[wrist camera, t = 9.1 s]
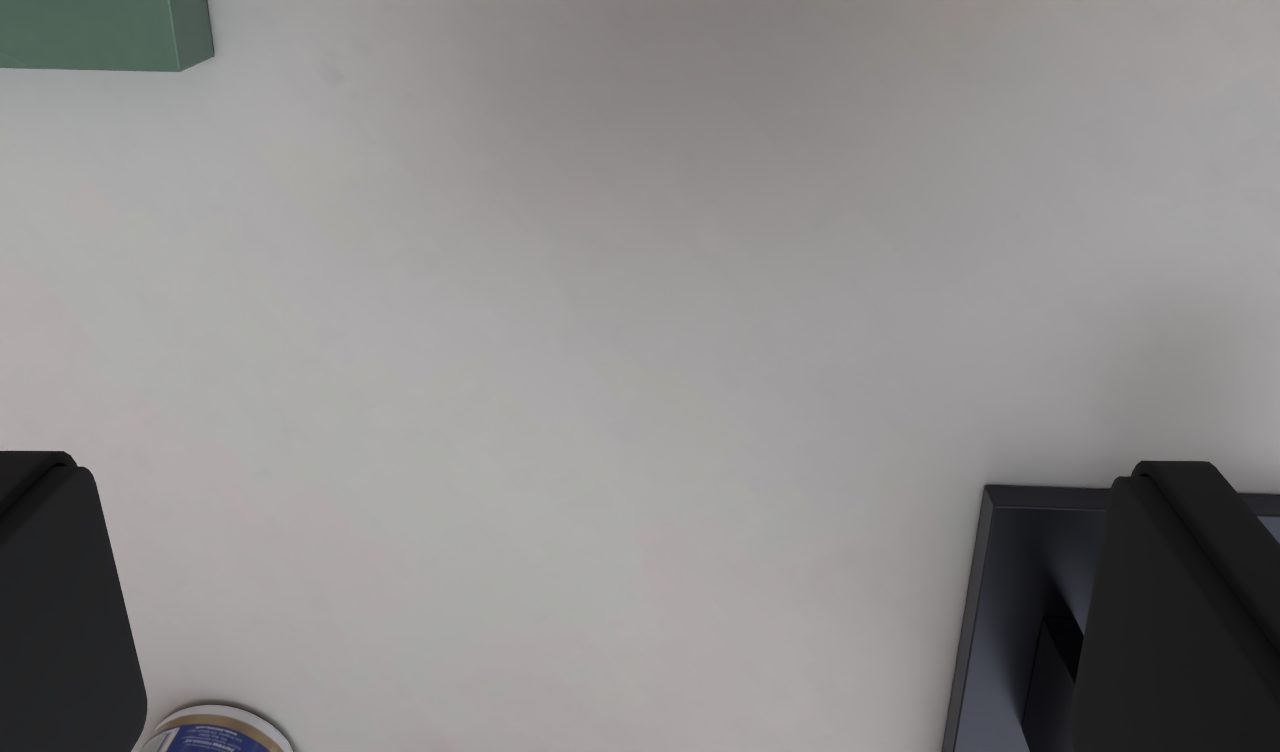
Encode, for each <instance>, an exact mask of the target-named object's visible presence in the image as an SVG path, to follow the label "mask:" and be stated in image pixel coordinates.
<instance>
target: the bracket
mask: <svg viewBox="0 0 1280 752" xmlns="http://www.w3.org/2000/svg"><path fill="white" fill-rule="evenodd" d="M1109 494H1110V490H1102V489H1072V488H1043V487H1013V486H985V489H984V496H983V502H982V508H981V514H980V520H979V527H978V533H977V539H976V545H975V551H974V558H973V564H972V570H971V576H970V582H969V589H968V595H967V601H966V607H965V613H964V620H963V626H962V632H961V638H960V644H959V651H958V657H957V663H956V669H955V675H954V682H953V688H952V694H951V700H950V706H949V713H948V719H947V725H946V731H945V737H944V744H943V750H942V752H1074V751H1073V747H1072V742H1071V736H1070V711H1071V705H1072V700H1073V694H1074V688H1075V683H1076V677H1077V672H1078V666H1079V661H1080V655H1081V650H1082V644H1083V638H1084V633H1085V627H1086V622H1087V616H1088V611H1089V605H1090V600H1091V594H1092V589H1093V583H1094V577H1095V572H1096V566H1097V561H1098V555H1099V550H1100V544H1101V539H1102V533H1103V527H1104V522H1105V516H1106V511H1107V505H1108V500H1109ZM1238 495H1239V496H1240V497H1241V498H1242V499H1243V501H1244V502H1245V503H1246V504H1247V505H1248V507H1249V508H1250V509H1251V510H1252V511H1253V512H1254V514H1255V515H1256V516H1257V517H1258V518H1259V520H1260V521H1261V522H1262V523H1263V524H1264V526H1265V527H1266V528H1267V529H1268V530H1269V532H1270V533H1271V534H1272V535H1273V536H1274V538H1275V539H1276V540H1277V541H1278V542H1279V544H1280V496H1279V495H1249V494H1238Z"/></svg>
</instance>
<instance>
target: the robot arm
mask: <svg viewBox="0 0 1280 752" xmlns="http://www.w3.org/2000/svg"><path fill="white" fill-rule="evenodd" d="M146 715H147V696H146V691H145V686H144V682H143V678H142V674H141V670H140V666H139V661H138V657H137V653H136V649H135V645H134V640H133V636H132V632H131V628H130V624H129V620H128V615H127V611H126V607H125V603H124V599H123V594H122V590H121V586H120V582H119V578H118V574H117V569H116V565H115V561H114V557H113V553H112V549H111V544H110V540H109V536H108V532H107V528H106V523H105V519H104V515H103V511H102V507H101V503H100V498H99V494H98V490H97V486H96V482H95V480H94V477H93V475H92V473H91V472H90V471H89V470H88V469H87V468H85V467H77V464H76V462H75V461H74V460H73V458H72V457H71V455H69V454H67V453H65V452H64V451H0V752H131V750H132V749H133V747H134V746H135V744H136V742H137V741H138V739H139V737H140V735H141V733H142V731H143V728H144V725H145V721H146ZM1070 736H1071V742H1072V747H1073V751H1074V752H1280V544H1279V542H1278V541H1277V540H1276V539H1275V538H1274V536H1273V535H1272V534H1271V533H1270V532H1269V530H1268V529H1267V528H1266V527H1265V526H1264V524H1263V523H1262V522H1261V521H1260V520H1259V518H1258V517H1257V516H1256V515H1255V514H1254V512H1253V511H1252V510H1251V509H1250V508H1249V507H1248V505H1247V504H1246V503H1245V502H1244V501H1243V499H1242V498H1241V497H1240V496H1239V495H1238V493H1237V492H1236V491H1235V490H1234V489H1233V487H1232V486H1231V485H1230V484H1229V483H1228V481H1227V480H1226V479H1225V478H1224V477H1223V475H1222V474H1221V473H1220V472H1219V471H1218V470H1217V468H1216V467H1215V466H1214V465H1212V464H1211V463H1210V462H1205V461H1141V462H1139V463H1138V464H1137V465H1136V466H1135V468H1134V470H1133V472H1132V474H1131V477H1125V476H1119V477H1117V478H1116V479H1115V480H1114V482H1113V484H1112V487H1111V490H1110V494H1109V500H1108V505H1107V511H1106V516H1105V522H1104V527H1103V533H1102V539H1101V544H1100V550H1099V555H1098V561H1097V566H1096V572H1095V577H1094V583H1093V589H1092V594H1091V600H1090V605H1089V611H1088V616H1087V622H1086V627H1085V633H1084V638H1083V644H1082V650H1081V655H1080V661H1079V666H1078V672H1077V677H1076V683H1075V688H1074V694H1073V700H1072V705H1071V711H1070Z"/></svg>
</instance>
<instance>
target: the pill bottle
mask: <svg viewBox="0 0 1280 752" xmlns="http://www.w3.org/2000/svg"><path fill="white" fill-rule="evenodd" d="M140 752H293V750H292V748H291V747H290V744H289V742H288V741H287V740H286V738H285V737H284V736H283V735H282V734H281V733H280V732H279V731H278V730H277V729H275V728H274V727H273V726H272V725H271V724H269V723H268V722H266V721H265V720H263V719H261V718H260V717H258V716H256V715H254V714H252V713H249V712H247V711H244V710H241V709H238V708H233V707H228V706H221V705H201V706H194V707H190V708H186V709H183V710H180V711H178V712H176V713H174V714H172V715H170V716H169V717H167V718H166V719H165V720H163V721H162V722H161V723H160V724H159V725H158V726H157V727H156V729H155V730H154V731H153V733H152V734H151V736H150V737H149V738H148V740H147V742H146V743H145V745H144V746H143V748H142V749H141V751H140Z"/></svg>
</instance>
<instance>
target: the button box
mask: <svg viewBox="0 0 1280 752" xmlns="http://www.w3.org/2000/svg"><path fill="white" fill-rule="evenodd" d="M213 56H214V52H213V45H212V38H211V30H210V23H209V16H208V9H207V1H206V0H0V68H26V69H71V70H115V71H160V72H181V71H183V70H185V69H187V68H189V67H192V66H194V65H196V64H198V63H200V62H203V61H205V60H207V59H209V58H211V57H213Z"/></svg>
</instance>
